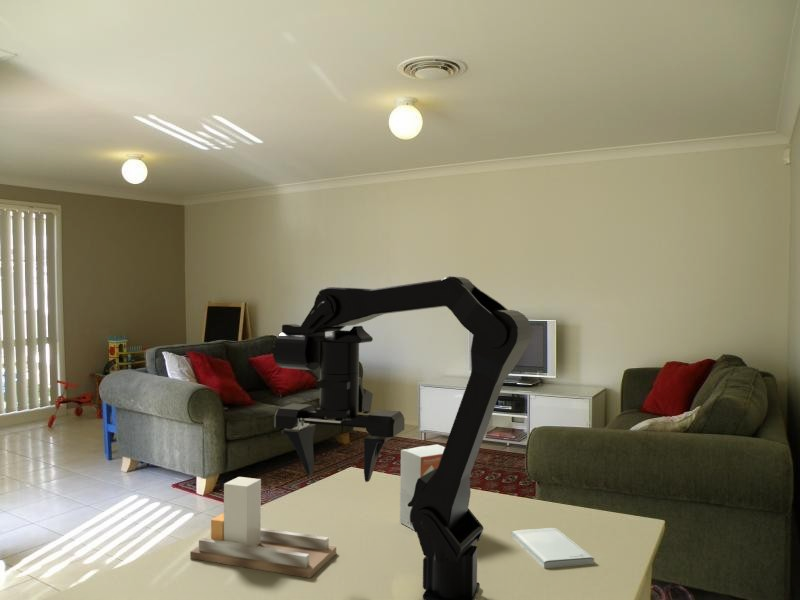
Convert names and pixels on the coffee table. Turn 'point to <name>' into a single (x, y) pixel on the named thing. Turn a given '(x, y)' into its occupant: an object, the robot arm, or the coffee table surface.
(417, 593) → the coffee table surface
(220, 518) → the block
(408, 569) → the coffee table surface
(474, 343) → the robot arm
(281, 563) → the rail board
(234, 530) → the block
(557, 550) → the hard drive
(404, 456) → the small box
